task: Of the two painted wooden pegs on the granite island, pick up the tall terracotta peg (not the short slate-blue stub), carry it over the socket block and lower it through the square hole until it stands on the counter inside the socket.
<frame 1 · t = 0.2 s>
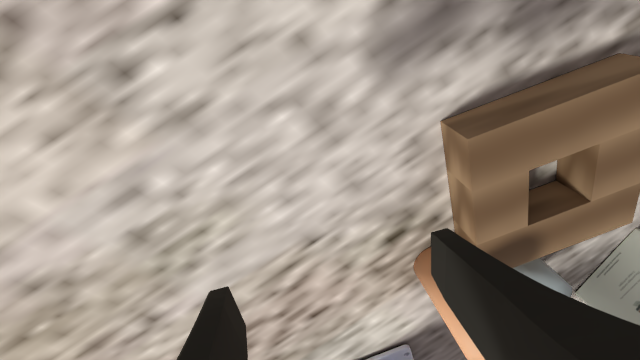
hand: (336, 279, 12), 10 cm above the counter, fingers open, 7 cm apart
socket block: (528, 166, 24), on the counter
long peg: (434, 261, 27), on the counter
short peg: (514, 263, 29), on the counter
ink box: (626, 266, 33), on the counter
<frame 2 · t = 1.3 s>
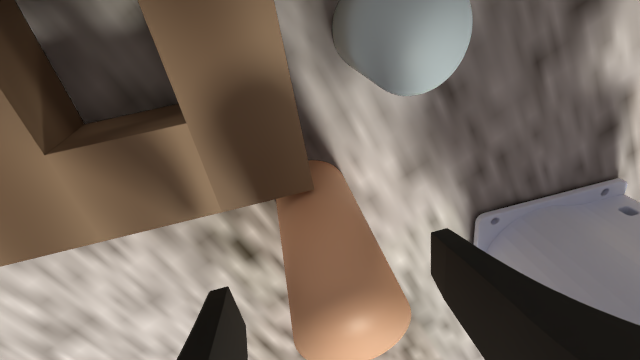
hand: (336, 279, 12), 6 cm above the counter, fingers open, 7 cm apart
socket block: (115, 52, 12), on the counter
long peg: (311, 192, 17), on the counter
short peg: (375, 26, 14), on the counter
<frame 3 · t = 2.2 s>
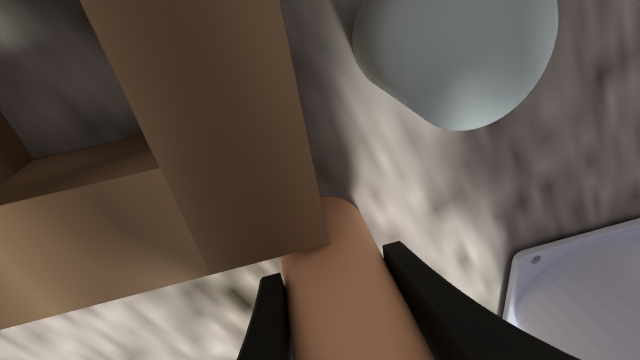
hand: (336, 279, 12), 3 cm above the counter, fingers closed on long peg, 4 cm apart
socket block: (68, 69, 9), on the counter
long peg: (321, 233, 14), on the counter, touching gripper
short peg: (406, 33, 11), on the counter
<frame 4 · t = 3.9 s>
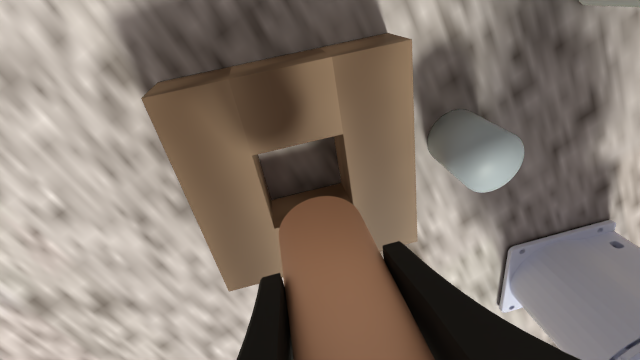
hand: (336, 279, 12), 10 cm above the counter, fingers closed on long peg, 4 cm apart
socket block: (299, 159, 20), on the counter
long peg: (321, 232, 14), point 7 cm above the counter, touching gripper
short peg: (453, 136, 21), on the counter
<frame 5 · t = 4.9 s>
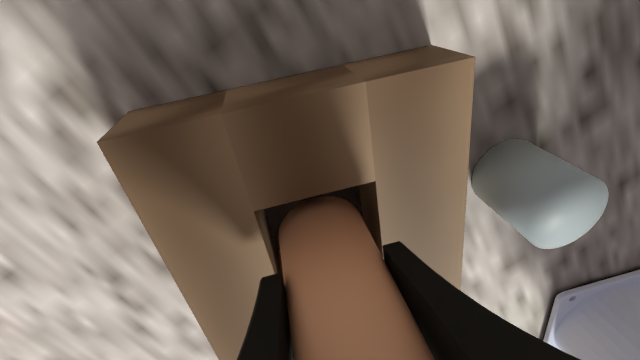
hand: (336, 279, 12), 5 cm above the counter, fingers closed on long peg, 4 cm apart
socket block: (313, 203, 16), on the counter
long peg: (321, 232, 14), point 2 cm above the counter, touching gripper
short peg: (503, 171, 17), on the counter
when the fingers open (4 cm above the counter, at t = 5.7 s): long peg stays where it is, resting in socket block.
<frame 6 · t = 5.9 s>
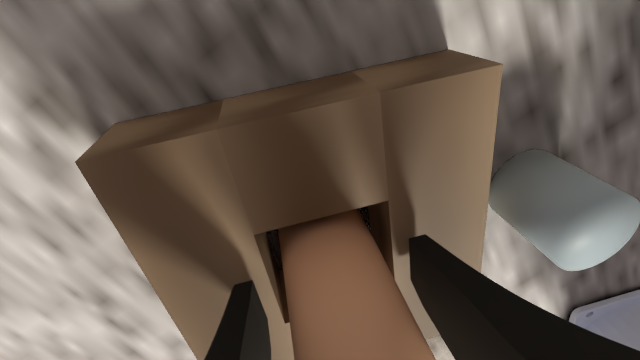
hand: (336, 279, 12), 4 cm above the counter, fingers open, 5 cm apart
socket block: (317, 219, 15), on the counter
long peg: (318, 219, 15), resting in socket block
short peg: (522, 183, 16), on the counter
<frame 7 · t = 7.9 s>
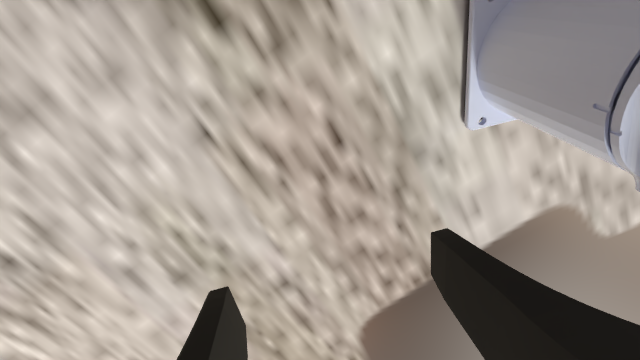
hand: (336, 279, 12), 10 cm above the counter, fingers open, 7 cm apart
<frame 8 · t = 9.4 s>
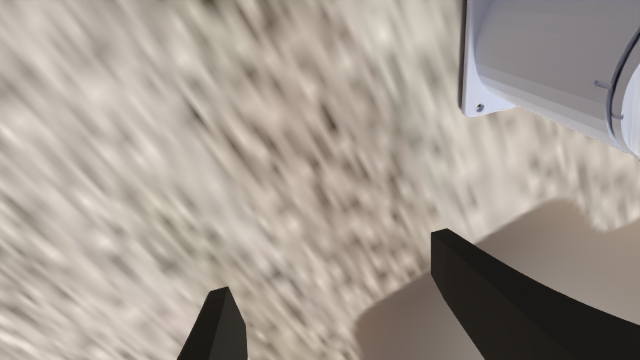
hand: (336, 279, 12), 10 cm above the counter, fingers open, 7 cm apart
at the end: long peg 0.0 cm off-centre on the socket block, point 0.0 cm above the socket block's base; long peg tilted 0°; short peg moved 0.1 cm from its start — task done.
